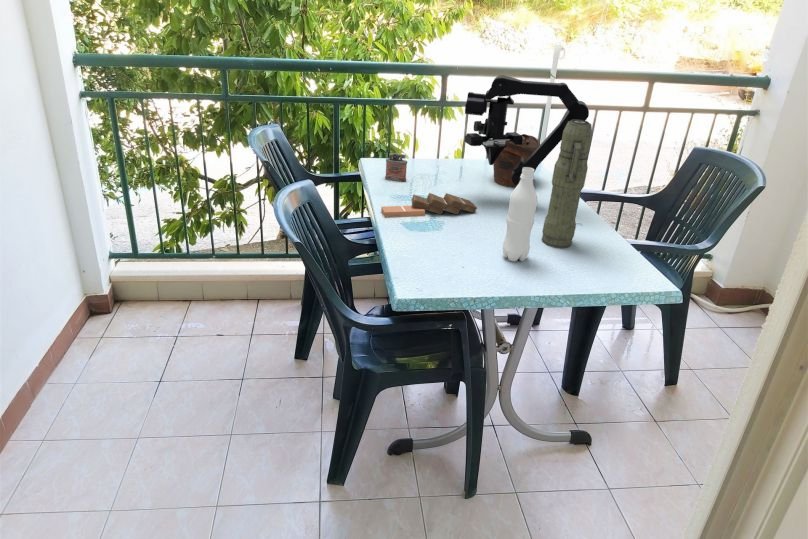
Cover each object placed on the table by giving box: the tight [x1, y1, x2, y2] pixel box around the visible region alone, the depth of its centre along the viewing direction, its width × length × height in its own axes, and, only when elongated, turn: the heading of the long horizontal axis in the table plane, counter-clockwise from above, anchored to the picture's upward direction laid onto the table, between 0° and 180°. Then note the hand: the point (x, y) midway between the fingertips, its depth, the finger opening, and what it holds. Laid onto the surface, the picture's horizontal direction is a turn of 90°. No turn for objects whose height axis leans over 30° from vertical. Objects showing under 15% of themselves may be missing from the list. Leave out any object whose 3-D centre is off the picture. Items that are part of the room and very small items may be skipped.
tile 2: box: [426, 192, 461, 216], centre depth 180 cm, size 2×5×10 cm
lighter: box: [384, 152, 408, 183], centre depth 206 cm, size 8×3×10 cm, turn 73°
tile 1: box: [442, 193, 478, 214], centre depth 181 cm, size 2×5×10 cm
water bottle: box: [501, 167, 539, 262], centre depth 148 cm, size 7×7×25 cm
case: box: [492, 133, 541, 188], centre depth 210 cm, size 18×20×18 cm
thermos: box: [541, 120, 593, 249], centre depth 157 cm, size 9×12×35 cm
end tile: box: [380, 205, 426, 219], centre depth 178 cm, size 2×5×13 cm
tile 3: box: [411, 194, 444, 215], centre depth 181 cm, size 2×5×10 cm
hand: (490, 164), depth 187 cm, fingers closed
